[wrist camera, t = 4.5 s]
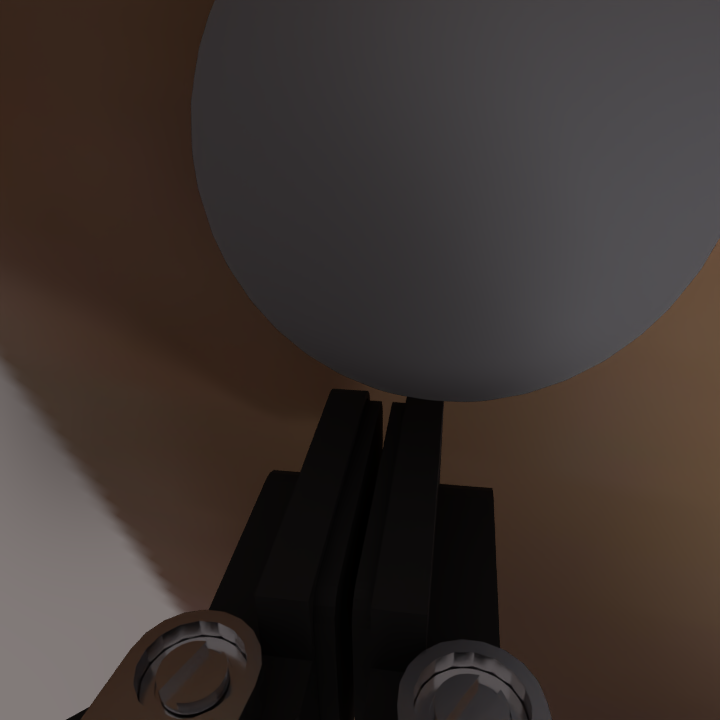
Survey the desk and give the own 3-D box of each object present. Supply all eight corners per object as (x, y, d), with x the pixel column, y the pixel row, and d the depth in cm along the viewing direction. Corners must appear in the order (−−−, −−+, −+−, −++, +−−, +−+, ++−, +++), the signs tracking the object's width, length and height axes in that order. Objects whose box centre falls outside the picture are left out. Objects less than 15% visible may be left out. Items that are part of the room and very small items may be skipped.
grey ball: (969, 344, 3) (896, -402, 5) (-15, 265, 4) (159, -362, 5) (639, 456, 9) (648, 94, 10) (239, 413, 9) (295, 81, 11)
